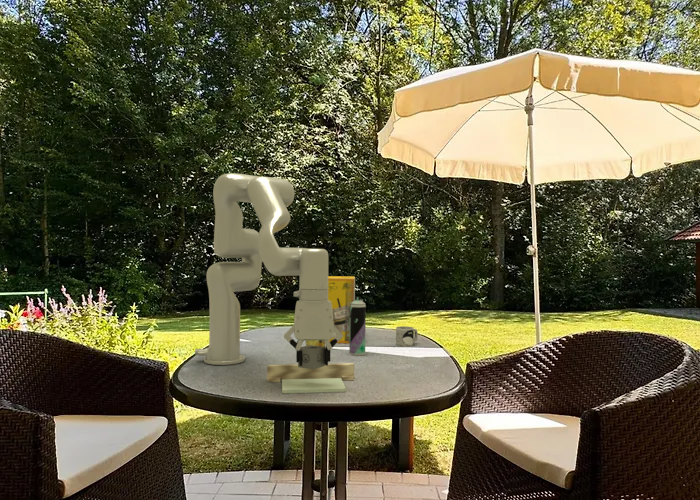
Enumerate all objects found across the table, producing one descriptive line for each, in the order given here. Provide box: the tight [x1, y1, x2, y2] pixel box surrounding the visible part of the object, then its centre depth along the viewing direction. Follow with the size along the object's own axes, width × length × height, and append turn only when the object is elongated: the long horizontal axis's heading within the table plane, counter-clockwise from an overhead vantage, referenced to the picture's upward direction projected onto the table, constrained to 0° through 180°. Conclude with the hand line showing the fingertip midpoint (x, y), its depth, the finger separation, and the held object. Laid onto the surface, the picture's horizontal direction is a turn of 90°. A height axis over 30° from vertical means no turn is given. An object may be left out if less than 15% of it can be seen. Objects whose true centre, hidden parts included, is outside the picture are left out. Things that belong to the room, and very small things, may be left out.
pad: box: [281, 378, 347, 394], centre depth 140 cm, size 16×11×1 cm
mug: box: [395, 326, 419, 348], centre depth 204 cm, size 10×7×7 cm, turn 129°
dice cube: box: [297, 345, 325, 369], centre depth 139 cm, size 5×5×5 cm
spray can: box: [348, 295, 367, 357], centre depth 184 cm, size 6×6×20 cm
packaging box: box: [328, 275, 356, 344], centre depth 213 cm, size 16×16×25 cm
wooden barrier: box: [266, 362, 355, 383], centre depth 148 cm, size 24×5×4 cm, turn 98°
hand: (313, 364), depth 140 cm, fingers closed on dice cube, 6 cm apart
